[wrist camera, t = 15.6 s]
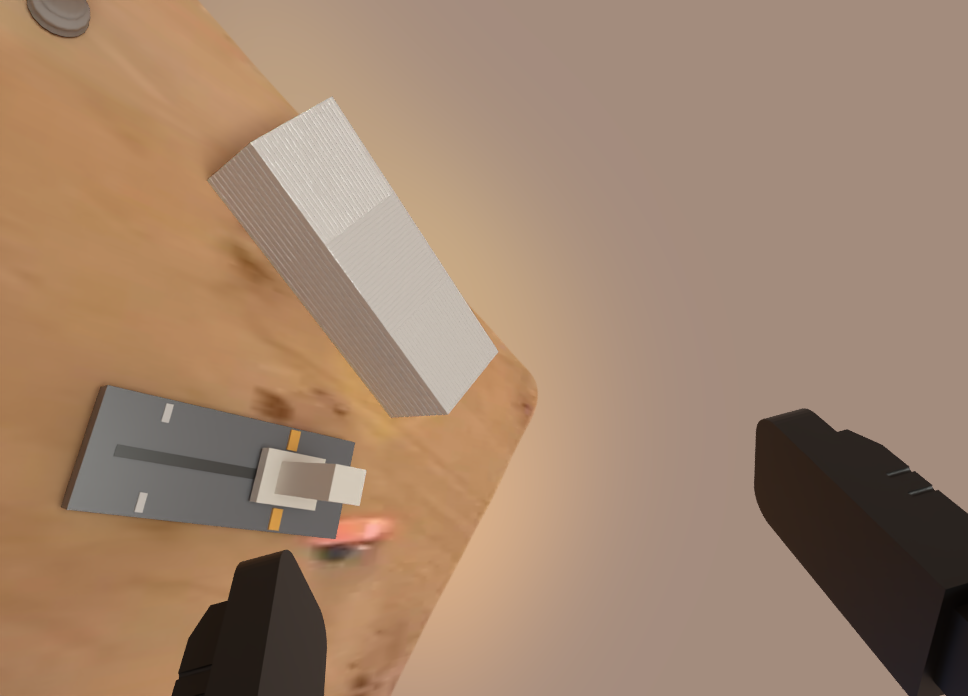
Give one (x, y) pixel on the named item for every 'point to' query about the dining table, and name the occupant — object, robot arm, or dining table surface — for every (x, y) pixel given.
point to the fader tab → (304, 481)
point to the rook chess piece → (61, 16)
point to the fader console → (191, 465)
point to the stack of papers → (357, 261)
